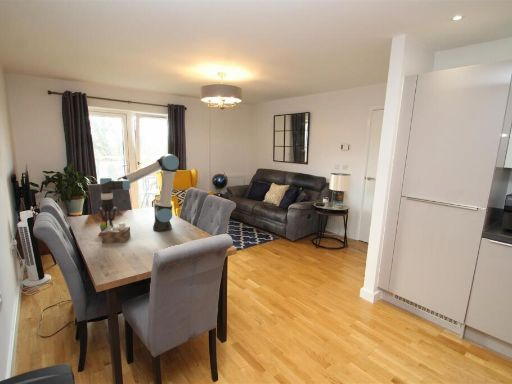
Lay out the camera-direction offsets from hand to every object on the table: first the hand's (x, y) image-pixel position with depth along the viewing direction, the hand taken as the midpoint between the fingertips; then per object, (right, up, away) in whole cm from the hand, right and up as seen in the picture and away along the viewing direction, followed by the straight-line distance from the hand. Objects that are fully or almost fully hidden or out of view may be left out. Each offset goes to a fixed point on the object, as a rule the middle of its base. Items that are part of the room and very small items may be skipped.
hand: (109, 229), depth 197 cm
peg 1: (0, -8, +1) cm, 8 cm away
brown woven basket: (+4, -8, +2) cm, 9 cm away
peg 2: (+9, -3, +2) cm, 10 cm away
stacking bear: (-10, -6, +15) cm, 19 cm away
